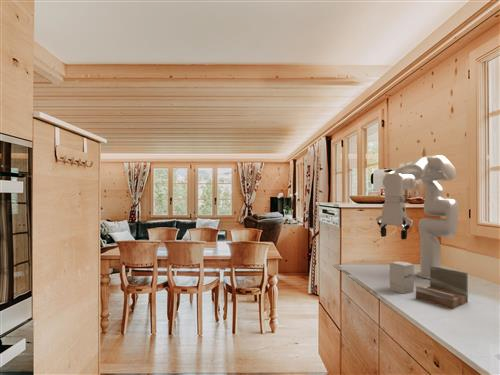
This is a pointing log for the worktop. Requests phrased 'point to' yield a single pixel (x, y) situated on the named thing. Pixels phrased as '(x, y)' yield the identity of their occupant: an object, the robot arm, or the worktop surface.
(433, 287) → the wall shelf
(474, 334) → the worktop surface
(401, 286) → the supplement box
